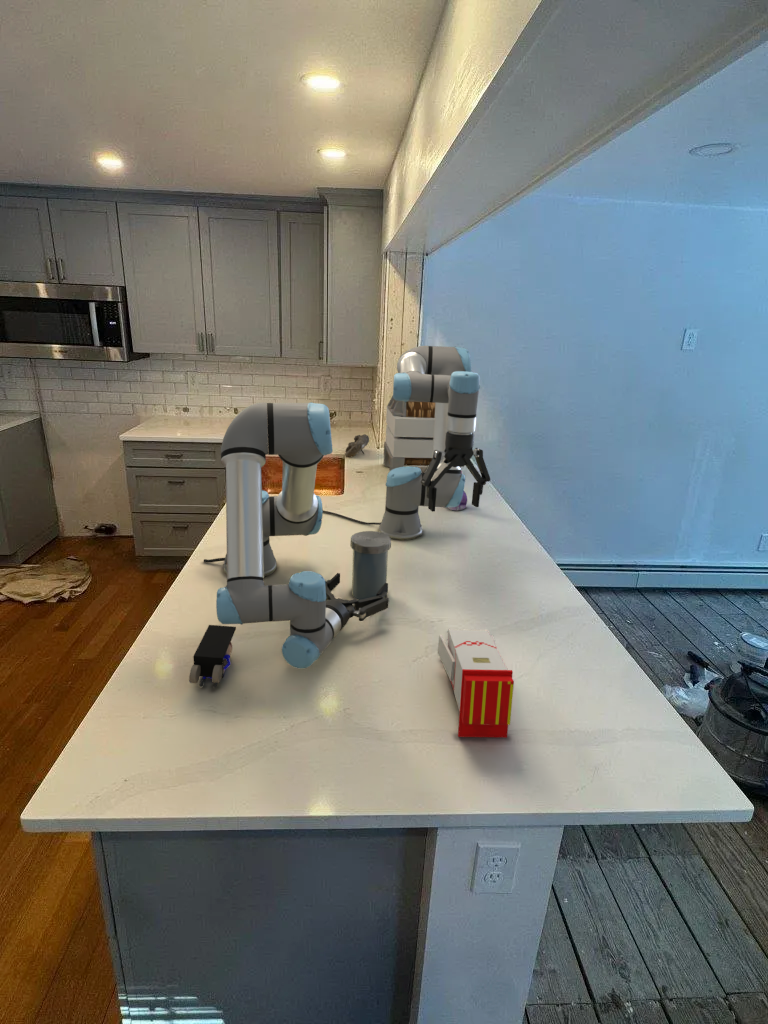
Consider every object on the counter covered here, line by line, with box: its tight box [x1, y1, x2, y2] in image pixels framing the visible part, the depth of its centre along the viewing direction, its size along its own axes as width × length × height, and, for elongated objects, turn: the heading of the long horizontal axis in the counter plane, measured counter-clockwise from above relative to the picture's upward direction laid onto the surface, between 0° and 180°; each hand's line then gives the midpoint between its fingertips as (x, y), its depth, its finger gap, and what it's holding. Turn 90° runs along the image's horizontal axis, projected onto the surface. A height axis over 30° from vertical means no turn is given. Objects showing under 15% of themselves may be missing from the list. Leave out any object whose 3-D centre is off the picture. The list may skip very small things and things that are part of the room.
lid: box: [350, 530, 392, 554], centre depth 152 cm, size 11×11×2 cm
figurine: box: [447, 470, 468, 511], centre depth 227 cm, size 9×10×15 cm
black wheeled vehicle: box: [188, 624, 237, 689], centre depth 120 cm, size 7×8×15 cm
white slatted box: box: [383, 395, 462, 472], centre depth 268 cm, size 34×33×41 cm
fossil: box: [344, 433, 370, 458], centre depth 304 cm, size 22×10×15 cm
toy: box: [437, 628, 515, 738], centre depth 117 cm, size 12×13×30 cm
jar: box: [351, 549, 389, 600], centre depth 155 cm, size 10×10×16 cm
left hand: (362, 582), depth 150 cm, fingers open, 13 cm apart
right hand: (453, 507), depth 157 cm, fingers open, 13 cm apart
